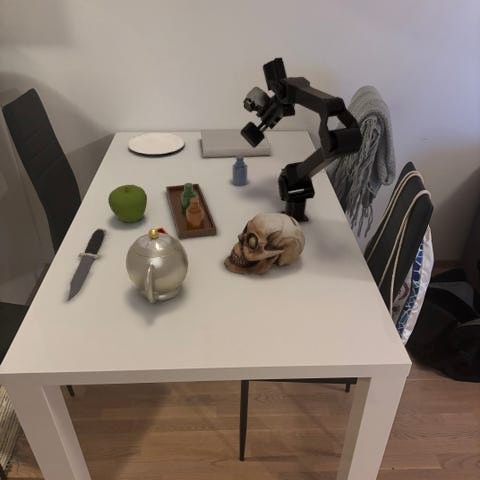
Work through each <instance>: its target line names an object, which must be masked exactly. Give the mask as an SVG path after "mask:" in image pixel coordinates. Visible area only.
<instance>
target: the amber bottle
mask: <svg viewBox="0 0 480 480" xmlns="http://www.w3.org/2000/svg"><path fill="white" fill-rule="evenodd" d="M186 220H187V230H195V229H204V228H205V227H204V209H203V208H201V207H200V205H199V200H198V199H197V198H192V199H190V206H189V208H187V209H186Z"/></svg>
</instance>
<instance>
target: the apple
mask: <svg viewBox="0 0 480 480" xmlns="http://www.w3.org/2000/svg"><path fill="white" fill-rule="evenodd" d="M107 200H108V201H107V203H108V205H109V207H110V210H111V212H112V213H113V214H114V216H115V217H116V218H117V219H118V220H120V221H122V222H125V223H126V224H127V223H128V224H132V223H136V222H138V221H139V220H140V219H142V218H143V216H144V215H145V212H146V209H147V205H148V204H147V203H148V195H147V193H146V191H145V190H144V189H143V188H142V187H140V186H138V185H135V184H124V185H121V186H118V187H116V188H115V189H113V190H112V191H111V192H110V193H109V194H108V199H107Z"/></svg>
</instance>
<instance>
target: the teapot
mask: <svg viewBox="0 0 480 480" xmlns="http://www.w3.org/2000/svg"><path fill="white" fill-rule="evenodd" d="M125 269H126V274H127V275H128V277H129V279H130V281H131V282H132V284H133V285H134V286H135V287H136V288H138V289H139V290H140V292H141V294H142V296H143V297H144V298H145V299H146V300H147V302H149V303H152V304H153V303H155V302H157V303H158V302H159V303H160V302H167V301H170V300H172V299H174V298H175V297H176V296H177V295H178V294H179V292H180V289H181V285H182V283H184V280H185V279H186V277H187V274H188V272H189V271H188V270H189V258H188V254H187V250H186V249H185V248H184V246H183V245H182V243H181V242H180V241H179V240H178V239H176V238H175V237H174V236H172V235H170V234H169V233H168V231H166V229H164V227H161V226H160V227H158V228H151V229H149V231H148V233H146V234H143V235H141V236H140V237H138V238H136V239H135V241H133V243H132V244H131V245H130V246H129V248H128V250H127V253H126V256H125Z"/></svg>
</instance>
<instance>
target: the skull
mask: <svg viewBox="0 0 480 480" xmlns="http://www.w3.org/2000/svg"><path fill="white" fill-rule="evenodd" d="M299 223H300V222H297V221H296V220H295V219H294V218H292V217H290V216H287V215H285V214H281V212H262V213H261V212H260V213H258V214H255V216H254V217H253V218H252V219H249V220H248V221H247V223H246V225H245V226H244V228H243V230H242V232H241V233H240V234H238V235H237V239H238V241H237V242H236V243H235V244H234V245H233V247H232V248H231V251H230V254H229V255H228V256H227V257H226V258H225V260H224V262H223V263H224V266H225V268H226V269H227V270H229V271H231V272H233V273H237V274H247V275H257V276H262V275H263V274H265V273H266V272H267V271H268V269H269V268H270V267H271V266H278V267H279V266H280V267H287V266H289V265H290V264H292V263H294V262H296V260H297V259H298V258H299V257H300V256H301V254H303V252H304V249H305V245H306V236H305V234H304V233H305V232H304V230H303V228H302V226H301V225H300V224H299Z"/></svg>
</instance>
